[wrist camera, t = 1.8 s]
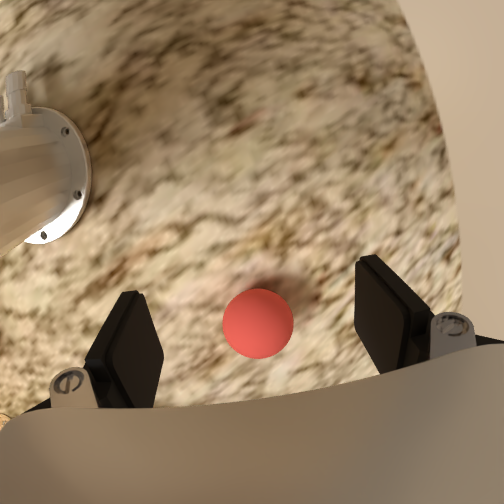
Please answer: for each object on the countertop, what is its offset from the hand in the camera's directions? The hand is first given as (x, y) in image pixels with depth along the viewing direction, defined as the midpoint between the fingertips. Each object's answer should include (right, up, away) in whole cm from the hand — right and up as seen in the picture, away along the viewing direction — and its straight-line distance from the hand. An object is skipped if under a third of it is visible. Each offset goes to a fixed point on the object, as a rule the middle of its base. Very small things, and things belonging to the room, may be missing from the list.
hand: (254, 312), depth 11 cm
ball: (0, -4, +16) cm, 16 cm away
